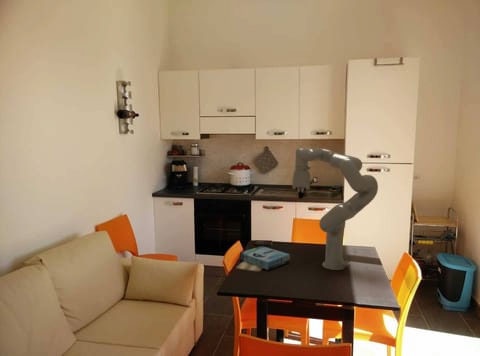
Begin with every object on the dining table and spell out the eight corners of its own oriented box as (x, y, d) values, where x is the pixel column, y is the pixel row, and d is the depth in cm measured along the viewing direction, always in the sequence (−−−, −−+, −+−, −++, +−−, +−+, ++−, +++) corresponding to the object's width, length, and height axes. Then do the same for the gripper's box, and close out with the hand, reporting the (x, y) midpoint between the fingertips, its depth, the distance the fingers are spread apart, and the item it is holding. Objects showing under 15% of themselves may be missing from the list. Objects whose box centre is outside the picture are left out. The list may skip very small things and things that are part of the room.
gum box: (290, 261, 219) (261, 253, 236) (290, 253, 219) (261, 245, 235) (268, 270, 206) (239, 260, 222) (268, 261, 205) (239, 252, 222)
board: (270, 259, 225) (270, 258, 225) (259, 272, 205) (259, 271, 205) (249, 256, 230) (249, 255, 230) (235, 268, 210) (235, 267, 210)
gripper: (315, 168, 224) (314, 198, 226) (291, 167, 229) (290, 196, 231) (312, 169, 217) (311, 200, 219) (287, 168, 222) (287, 198, 225)
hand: (300, 198), depth 225 cm, fingers closed
